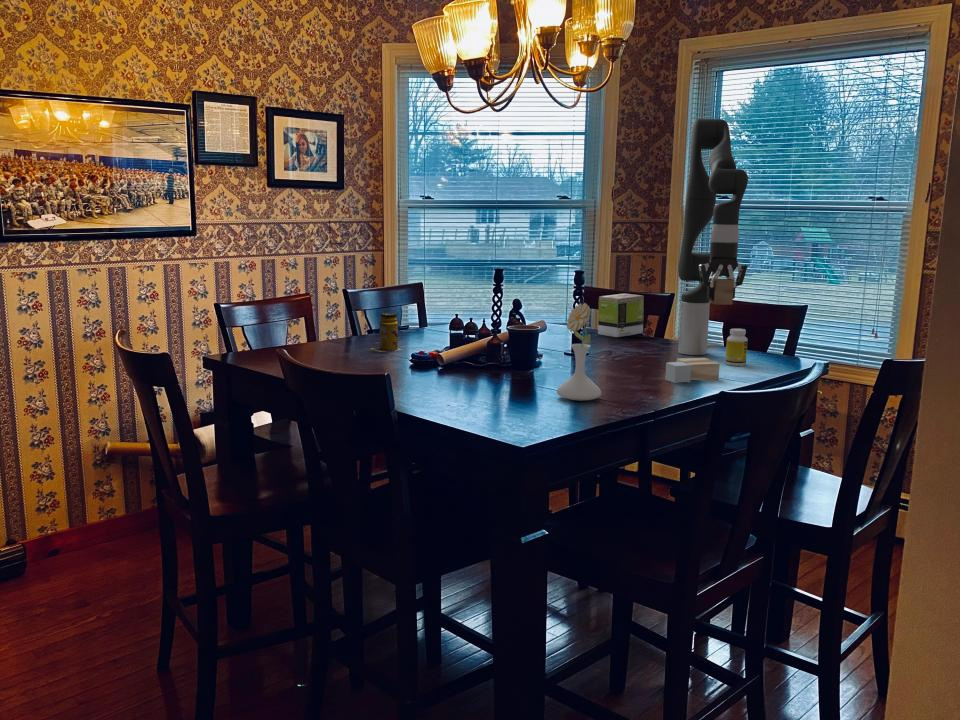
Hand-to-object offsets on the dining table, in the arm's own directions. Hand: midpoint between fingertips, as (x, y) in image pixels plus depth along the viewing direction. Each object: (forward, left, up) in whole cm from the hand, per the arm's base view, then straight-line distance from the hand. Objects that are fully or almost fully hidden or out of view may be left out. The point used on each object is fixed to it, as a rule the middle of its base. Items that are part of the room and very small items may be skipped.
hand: (720, 300), depth 241 cm
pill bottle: (-16, +11, -22) cm, 29 cm away
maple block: (+3, -7, -22) cm, 23 cm away
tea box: (-74, -13, -22) cm, 78 cm away
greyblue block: (+8, -14, -22) cm, 27 cm away
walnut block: (0, 0, -1) cm, 1 cm away
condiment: (-39, -98, -22) cm, 108 cm away
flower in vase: (+31, -45, -22) cm, 59 cm away
